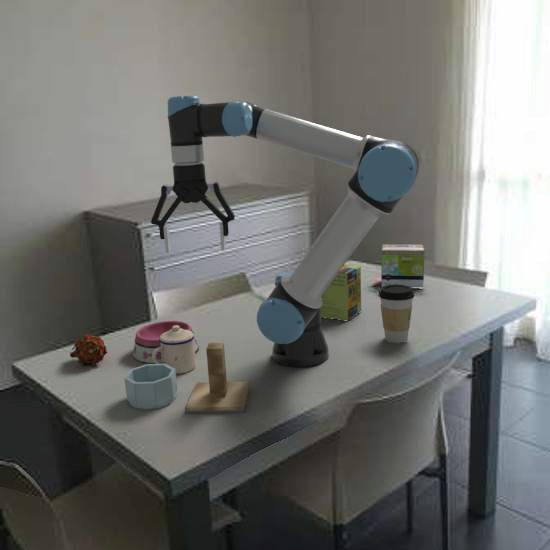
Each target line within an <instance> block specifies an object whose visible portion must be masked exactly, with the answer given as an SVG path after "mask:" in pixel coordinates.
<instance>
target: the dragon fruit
mask: <svg viewBox="0 0 550 550" xmlns="http://www.w3.org/2000/svg"><path fill="white" fill-rule="evenodd" d="M71 350H73V351H72V352H69V357H70V358H71V359H73V358H77V359H78V363H79V364H82V365H86V364H85V363H87V365H90V366H93V365H94V364H96V363H97V364H98V363H100V362H102V361H103V360H104V357H105V356H106V355H107V354H108V349H107V346H106V345H105V342H104V340H103V339H102V338H101V337H99V336H95V335H93V334H85V335H84V336H83V338H82V339H78V340H76V342H75V343H74V346H73V347H72V348H71ZM97 364H96V365H97ZM94 366H95V365H94Z"/></svg>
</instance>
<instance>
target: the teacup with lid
mask: <svg viewBox="0 0 550 550" xmlns="http://www.w3.org/2000/svg"><path fill="white" fill-rule="evenodd" d="M194 336H195V333H194V334H193V333H192V332H191V331H189V330H184V329H181V328H180V327H179V326H178V325H175V326H173V327H172V329H171V330H169V331H168V332H165V333H163V334H162V335H161V336H160V339H159V341H160V343H161V347H158V348H156V349H155V350H154V351H153V353H152V359H153V361H154V363H156V364H167V365H169V366H171V367H173V368H175V370H176V375H179V374H186V373H189V372H191V371H193V370H194V369H195V368H196V366H197V363H196V354H195V349H194ZM160 350H161V353H162V362H158V361H157V360H156V354H157V352H158V351H160Z"/></svg>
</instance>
